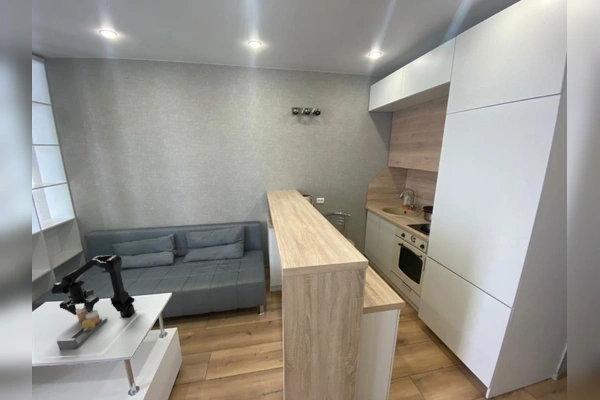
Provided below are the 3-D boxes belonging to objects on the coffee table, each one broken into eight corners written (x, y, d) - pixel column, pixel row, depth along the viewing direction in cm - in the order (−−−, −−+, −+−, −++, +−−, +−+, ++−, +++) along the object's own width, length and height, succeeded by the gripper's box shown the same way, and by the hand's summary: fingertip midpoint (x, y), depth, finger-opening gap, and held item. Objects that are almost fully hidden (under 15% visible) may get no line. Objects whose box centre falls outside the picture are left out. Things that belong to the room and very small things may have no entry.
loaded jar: (103, 321, 134) (99, 309, 132) (95, 328, 129) (92, 316, 127) (94, 321, 134) (91, 310, 132) (86, 328, 129) (83, 316, 127)
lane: (93, 321, 135) (90, 312, 134) (107, 320, 135) (105, 311, 134) (60, 350, 116) (56, 341, 114) (76, 349, 116) (73, 340, 115)
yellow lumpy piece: (85, 328, 129) (82, 319, 127) (96, 328, 129) (93, 319, 128) (79, 333, 125) (76, 324, 124) (90, 333, 126) (87, 324, 124)
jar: (93, 315, 140) (89, 304, 138) (85, 322, 135) (81, 311, 133) (84, 316, 140) (81, 305, 138) (76, 322, 134) (73, 311, 133)
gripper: (103, 283, 140) (109, 304, 144) (73, 284, 140) (80, 305, 144) (87, 294, 130) (94, 317, 133) (55, 296, 129) (62, 318, 133)
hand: (83, 314), depth 136 cm, fingers open, 9 cm apart
